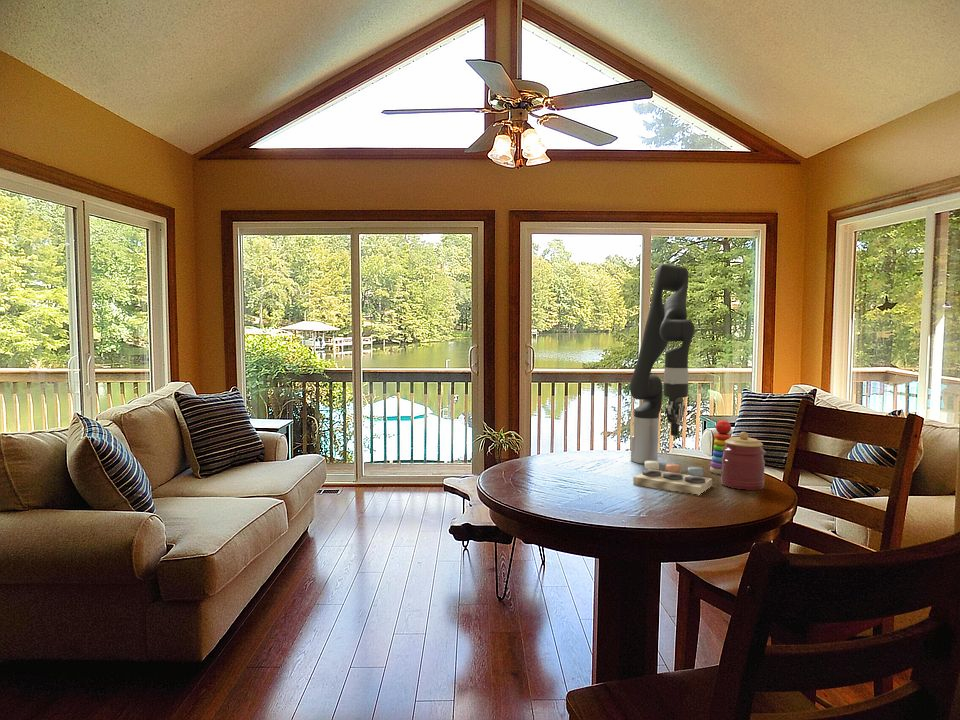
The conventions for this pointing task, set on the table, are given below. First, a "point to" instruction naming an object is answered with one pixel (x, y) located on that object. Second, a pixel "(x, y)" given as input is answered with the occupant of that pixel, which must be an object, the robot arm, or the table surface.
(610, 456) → the table surface
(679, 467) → the terracotta button
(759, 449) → the canister
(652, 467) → the ivory button
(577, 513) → the table surface
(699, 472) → the slate button
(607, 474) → the table surface
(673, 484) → the button panel
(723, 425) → the stacking toy
